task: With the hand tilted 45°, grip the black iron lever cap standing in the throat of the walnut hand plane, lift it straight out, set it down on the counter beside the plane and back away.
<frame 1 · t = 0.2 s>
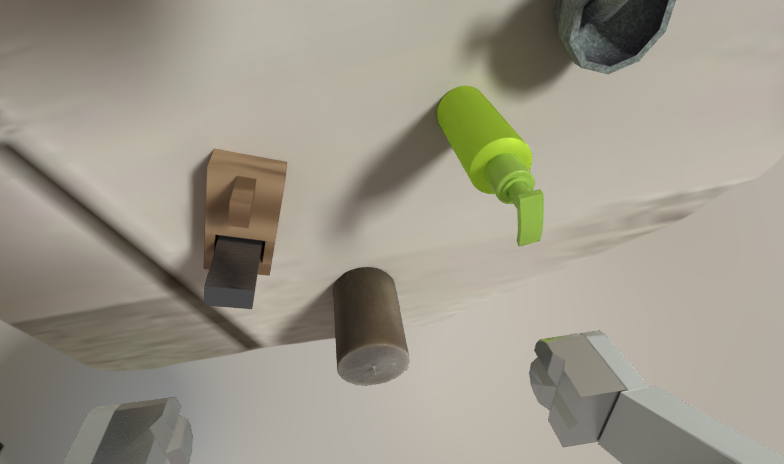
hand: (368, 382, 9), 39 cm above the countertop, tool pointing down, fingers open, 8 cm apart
pillar candle: (364, 288, 64), on the countertop
soap dispenser: (461, 114, 48), on the countertop
lever cap: (243, 229, 53), resting in hand plane
hand plane: (243, 229, 53), on the countertop
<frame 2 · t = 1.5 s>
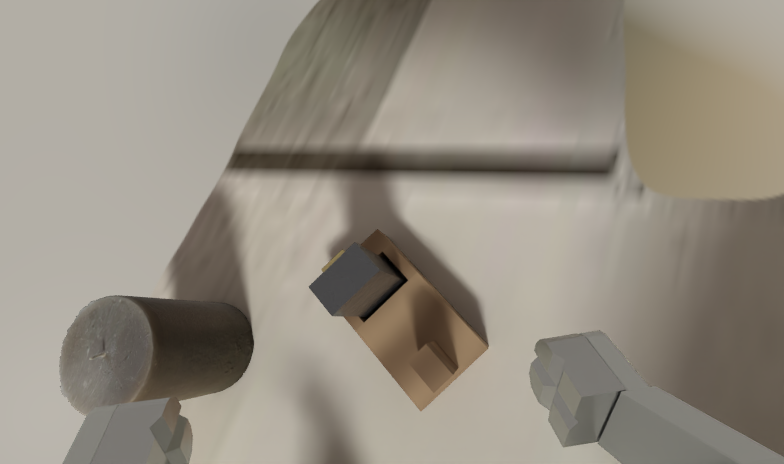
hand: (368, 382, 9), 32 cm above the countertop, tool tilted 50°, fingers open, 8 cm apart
pillar candle: (216, 345, 46), on the countertop
lever cap: (384, 289, 42), resting in hand plane
hand plane: (384, 289, 42), on the countertop
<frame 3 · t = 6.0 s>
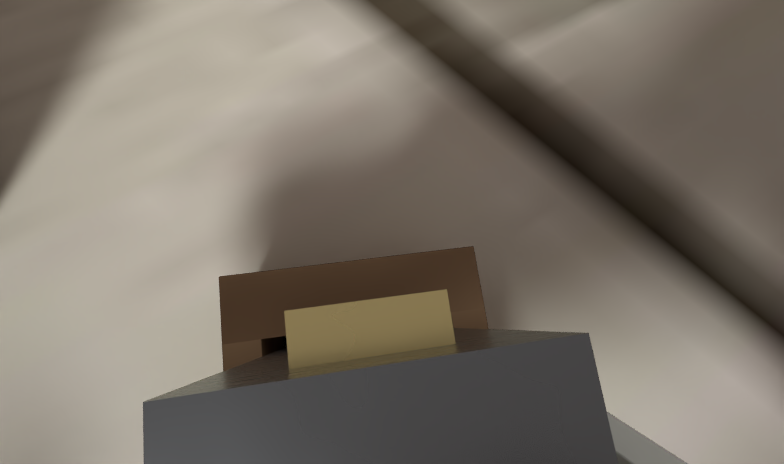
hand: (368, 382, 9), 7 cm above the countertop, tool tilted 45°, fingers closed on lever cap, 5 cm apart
lever cap: (362, 374, 16), resting in hand plane, touching gripper
hand plane: (362, 374, 16), on the countertop
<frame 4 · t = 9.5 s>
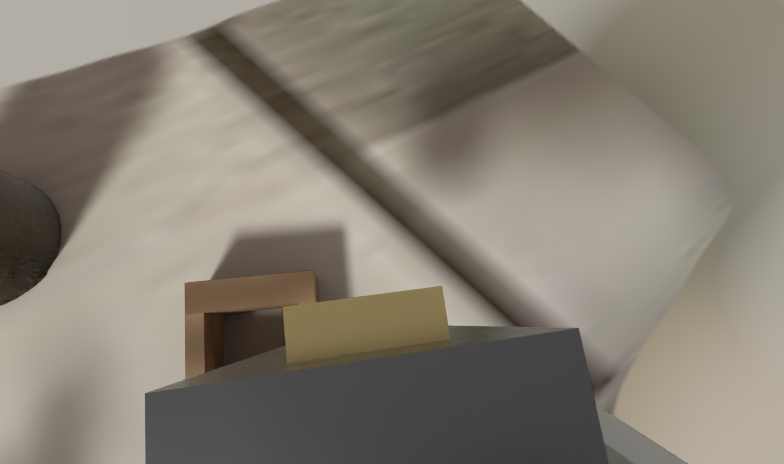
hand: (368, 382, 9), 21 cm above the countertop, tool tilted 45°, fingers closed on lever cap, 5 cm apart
lever cap: (360, 372, 16), point 14 cm above the countertop, touching gripper
hand plane: (264, 336, 29), on the countertop
when the fingers open (8 cm above the countertop, at t = 13.1 s): lever cap drops 1 cm, on the countertop.
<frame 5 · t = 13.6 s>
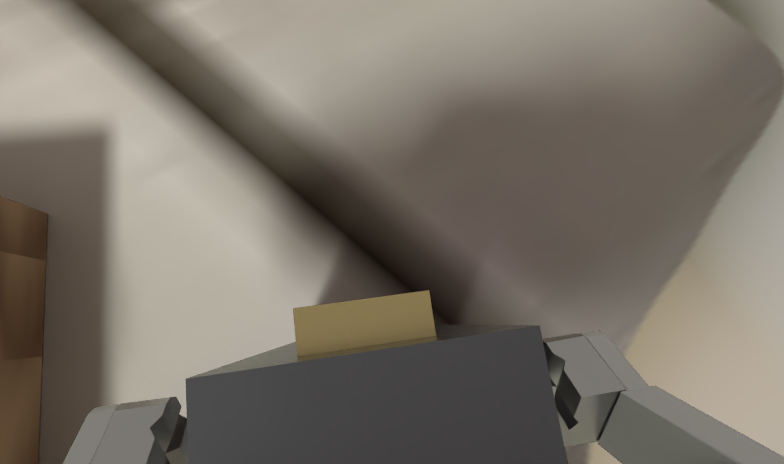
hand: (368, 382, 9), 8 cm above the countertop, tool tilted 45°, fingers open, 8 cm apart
lever cap: (360, 369, 17), on the countertop
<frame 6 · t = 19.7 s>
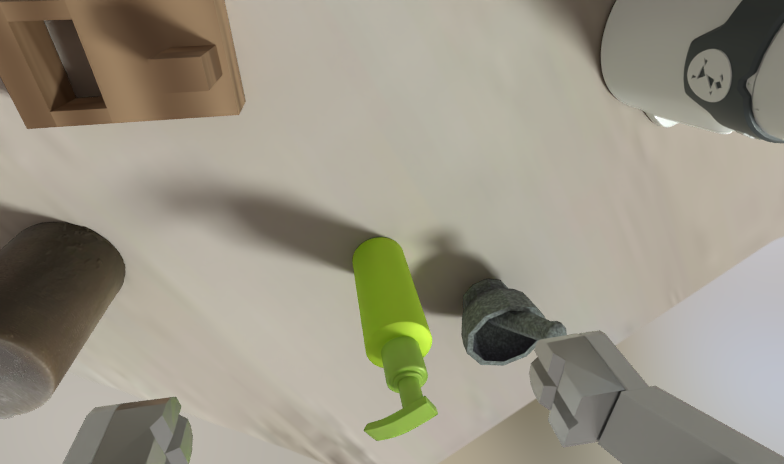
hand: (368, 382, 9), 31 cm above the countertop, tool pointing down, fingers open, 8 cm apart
pillar candle: (70, 262, 40), on the countertop
mortar and pestle: (488, 292, 52), on the countertop
soap dispenser: (374, 260, 47), on the countertop
hand plane: (86, 57, 31), on the countertop
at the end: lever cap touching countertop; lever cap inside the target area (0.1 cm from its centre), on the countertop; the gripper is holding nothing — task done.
